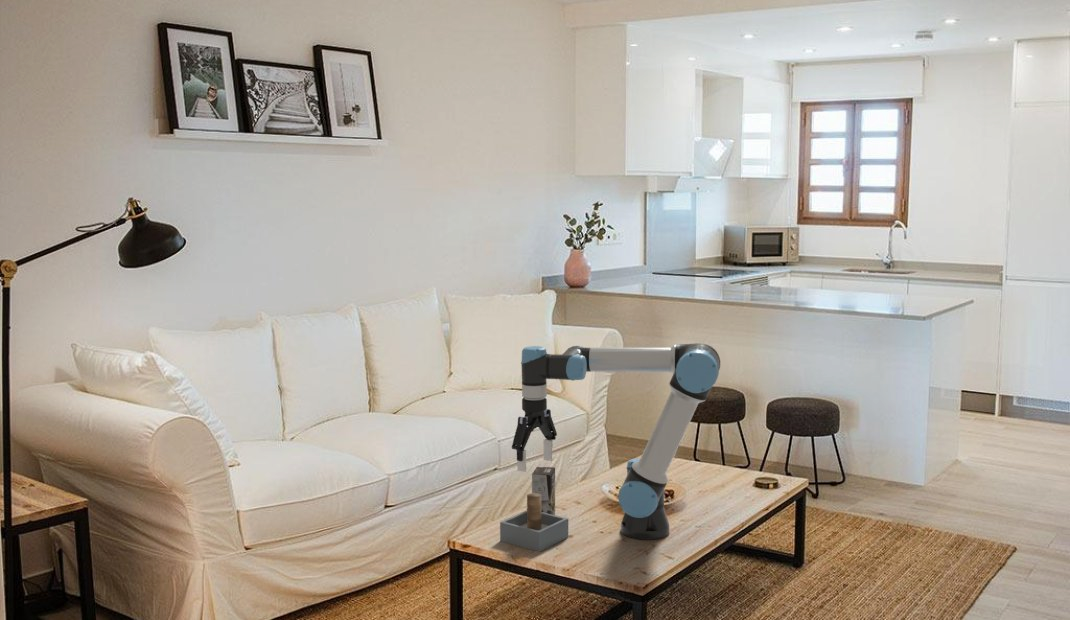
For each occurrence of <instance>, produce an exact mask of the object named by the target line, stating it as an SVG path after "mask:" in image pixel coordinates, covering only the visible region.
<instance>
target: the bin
mask: <svg viewBox="0 0 1070 620" xmlns="http://www.w3.org/2000/svg"><path fill="white" fill-rule="evenodd" d="M541 526H542V529H541V530H539V531H537V530H534V529H530V528H527V510H524V511H523V512H520V513H518V514H515V515H513V516H511V517H509V518H507V519H504V520H502V521H500V522H499V536H500V539H499V540H500V542H503V543H506V544H510V545H512V546H517V547H521V548H525V549H529V550H532V551H535V552H542V551H544V550H545V549H548V548H550V547H552V546H553V545H556V544H558V543H560V542H562V541H564V540H566V539H567V538H569V518H567V517H564V516H558V515H556V514H555V515H552V514H548V513H544V512H541Z"/></svg>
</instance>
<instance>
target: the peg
mask: <svg viewBox="0 0 1070 620" xmlns="http://www.w3.org/2000/svg"><path fill="white" fill-rule="evenodd" d="M526 511H527V528H530V529H534V530H537V531H539V530H541V529H542V526H541V494H539V493H532V492H531V493H527V494H526Z"/></svg>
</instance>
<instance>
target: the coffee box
mask: <svg viewBox="0 0 1070 620" xmlns="http://www.w3.org/2000/svg"><path fill="white" fill-rule="evenodd" d="M531 493H539V494H541V512H544V513H548V514H552V515H556V467H552V466H543V467H542V466H536V468H535V469H534V470H533V472H532V473H531Z"/></svg>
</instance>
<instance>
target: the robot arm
mask: <svg viewBox="0 0 1070 620" xmlns="http://www.w3.org/2000/svg"><path fill="white" fill-rule="evenodd" d="M520 364H521V365H520V366H521V397H522V399H521V409H522V410H523V412H524V416H518V418H517V425H516V429H515V433H514V436H513V437H514V438H513V440H512V444H511V449H512V450H516V462H517V471H518V472H519V471H520V472H524V473H525V472H527V450H526V446H527V445H528V441H529V439H530V436H531V434H532V432H534V431H535V429H537V428H538V429H539V430H540V432H541V433H542V435H543V436H544V439H543V461H548V462H552V461H553V441H555V440H556V439H557V438H556V437H557V435H558V434H557V433H558V432H557V430H556V427H555V423H554V420H553V417H552V415H551V409H549V408H547V407H548V406H547V405H548V404H547V403H548V400H547V398H546V397H547V396H548V388H547V386H548V385H547V380H563V381H564V380H566V381H582V380H584V379H585V378H586V376H587V375H586V374H587V373H588V372H589V373H591V372H594V373H595V372H596V373H597V372H598V373H599V372H601V373H605V372H606V373H608V372H609V373H615V372H616V373H620V372H621V373H625V372H626V373H672V376H671V379H670V381H669V383H668V384H669V385H668V386H669V387H670V389H671V390H670V394H669V396H668V398H667V400H666V402H665V404H664V406H663V409H662V411H661V413H660V414H659V417H658V419H657V421H656V424H655V426H654V428H653V430H652V432H651V434H650V437H649V439H648V442H647V443H646V446H645V448H644V450H643V452H642V455H641V457H640V458H632V459H628V461H627V464H626V477H625V479H624V480H623V481H624V482H623V483H622V485H621V487H620V488H619V491H618V504H619V506H620V508H621V509H622V511H623V512H624V515H623V518H622V521H621V524H620V531H621V533H622V534H623V535H624V536H626V537H629V538H632V539H637V540H658V539H663V538H665V537H667V536H668V535H669V534H670V523H669V520H668V516H667V512H666V510H665V488H666V487H667V484H668V483H669V482H668V481H669V479H668V477H667V472H668V470H669V468H670V465H671V463H672V462H673V459H674V457H675V455H676V453H677V450H678V448H679V446H680V443H682V440H683V437H684V436H685V433H686V431H687V428H688V427H689V425H690V422H691V421H692V418H693V416H694V414H695V412H696V410H697V407H698V405H699V404H700V403H703V402H705V401H706V400H707V399H708V396H709V394H710V392H711V390H712V388H713V386H714V385H715V383H716V382H717V381H718V378H719V374H720V373H719V372H720V370H721V369H720V368H721V358H720V355H719V353H718V351H717V350H716V349H715V348H714V347H713V346H710V345H709V344H706V343H700V342H698V343H683V344H681V343H678V344H677V343H675V344H674V345H673V346H672V347H583V346H581V345H573V346H571V347H568V348H567V349H566V350H565V351H564V352H563V353H562V354H552V353H548V352H547V348H546V347H545V346H539V345H537V346H536V345H533V346H531V345H529V346H526V347H523V348H522V351H521V362H520Z"/></svg>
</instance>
